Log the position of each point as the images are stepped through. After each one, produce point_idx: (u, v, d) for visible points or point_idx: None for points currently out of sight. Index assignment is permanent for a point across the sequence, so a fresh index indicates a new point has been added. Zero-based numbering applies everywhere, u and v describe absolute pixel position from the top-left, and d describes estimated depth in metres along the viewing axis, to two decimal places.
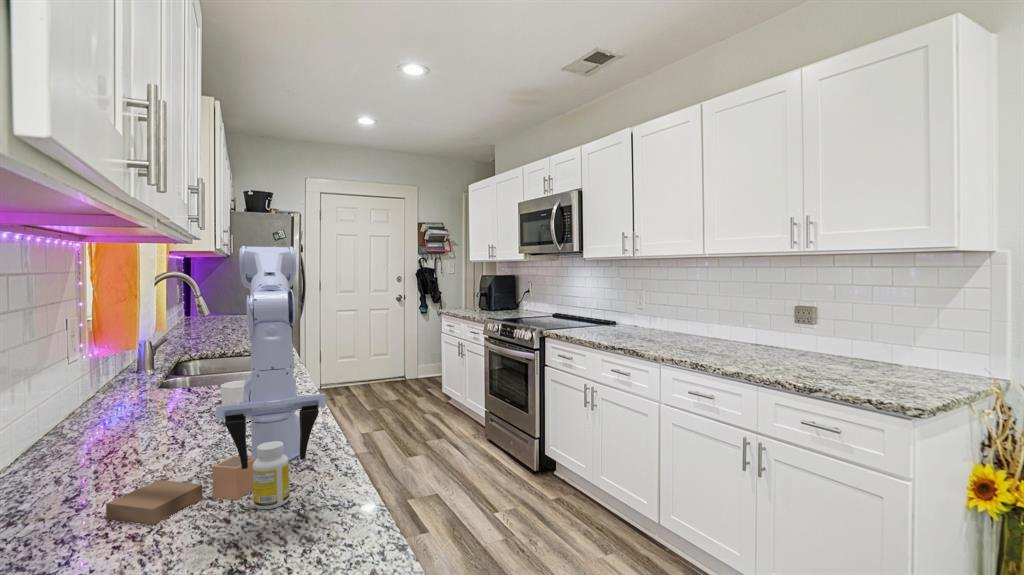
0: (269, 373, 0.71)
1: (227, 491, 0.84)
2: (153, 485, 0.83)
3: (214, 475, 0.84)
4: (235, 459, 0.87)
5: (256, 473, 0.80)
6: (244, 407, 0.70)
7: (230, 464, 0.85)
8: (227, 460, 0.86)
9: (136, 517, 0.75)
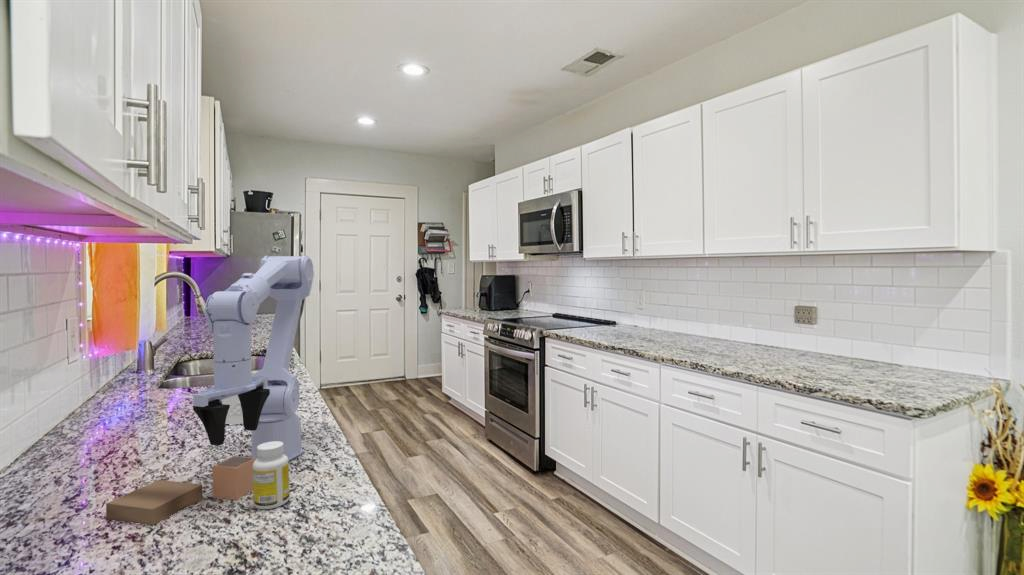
0: (244, 363, 0.84)
1: (227, 491, 0.84)
2: (153, 485, 0.83)
3: (214, 475, 0.84)
4: (235, 459, 0.87)
5: (256, 473, 0.80)
6: (225, 393, 0.81)
7: (230, 464, 0.85)
8: (227, 460, 0.86)
9: (136, 517, 0.75)
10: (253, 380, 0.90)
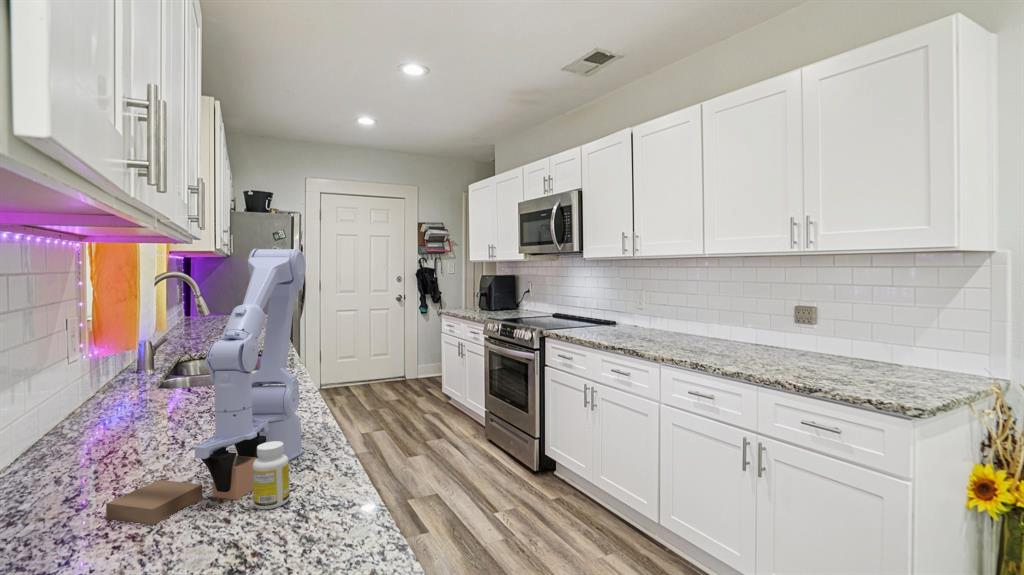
0: (245, 411, 0.85)
1: None
2: (153, 485, 0.83)
3: None
4: (235, 459, 0.87)
5: (256, 473, 0.80)
6: (226, 443, 0.82)
7: None
8: None
9: (136, 517, 0.75)
10: (254, 426, 0.90)
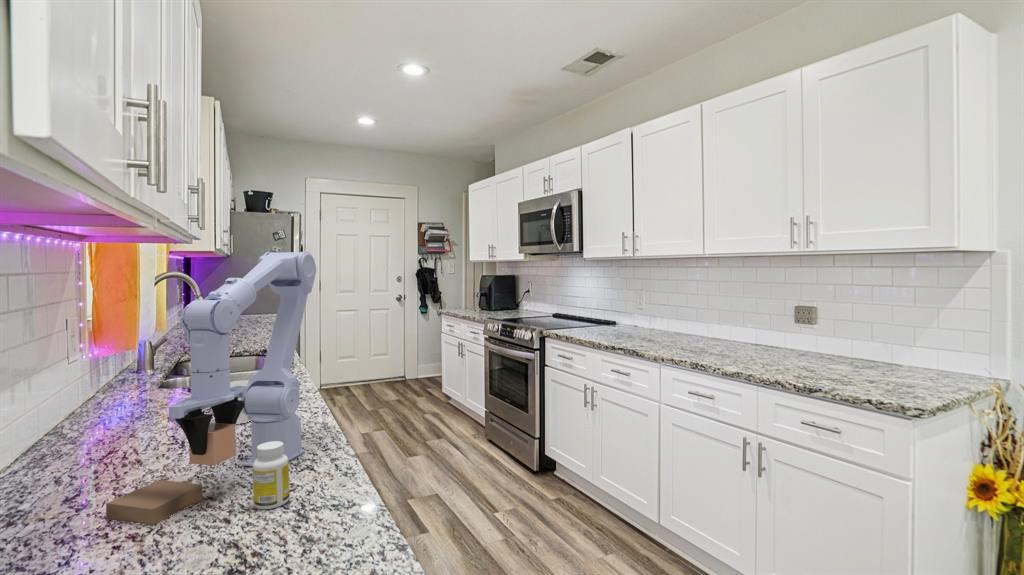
0: (222, 373, 0.83)
1: (204, 456, 0.81)
2: (153, 485, 0.83)
3: None
4: (213, 425, 0.85)
5: (256, 473, 0.80)
6: (202, 404, 0.80)
7: None
8: None
9: (136, 517, 0.75)
10: (232, 390, 0.88)
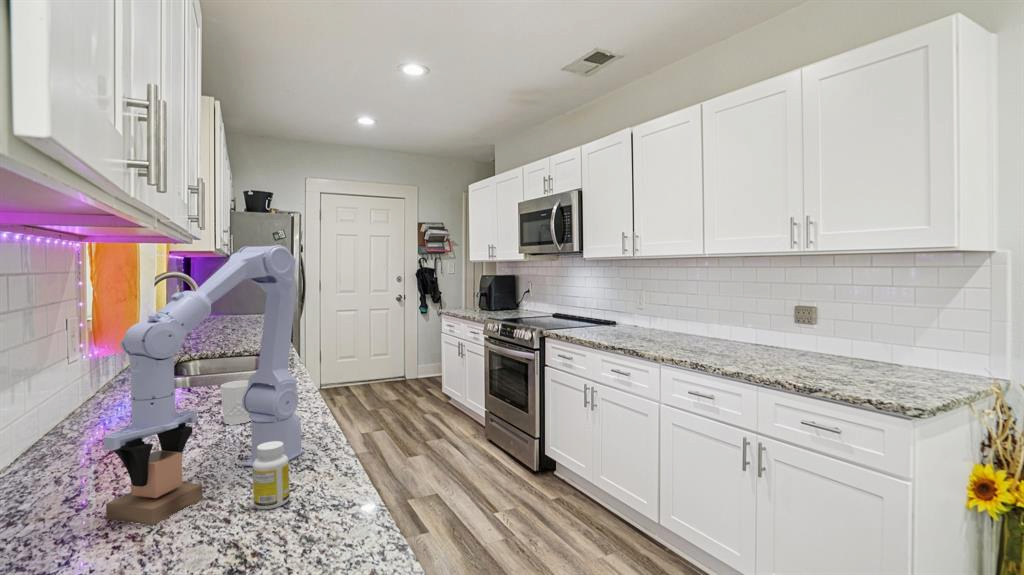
0: (165, 400, 0.78)
1: (145, 488, 0.77)
2: None
3: None
4: (157, 454, 0.81)
5: (256, 473, 0.80)
6: (141, 434, 0.76)
7: (150, 459, 0.78)
8: None
9: (136, 517, 0.75)
10: (179, 416, 0.84)
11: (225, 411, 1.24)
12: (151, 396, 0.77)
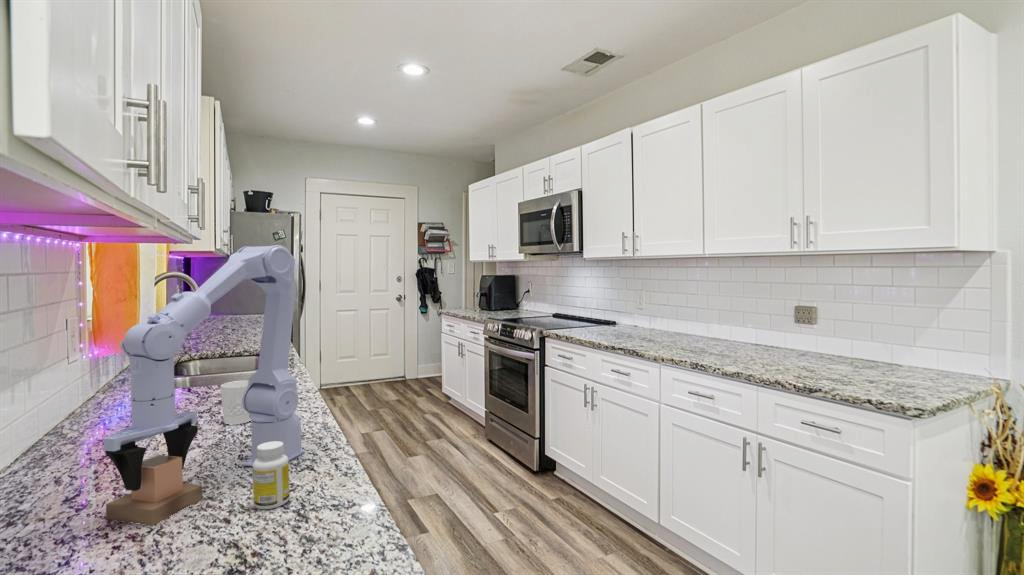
0: (165, 401, 0.78)
1: (145, 493, 0.77)
2: None
3: None
4: (158, 458, 0.81)
5: (256, 473, 0.80)
6: (141, 435, 0.76)
7: (150, 464, 0.78)
8: (149, 459, 0.80)
9: (136, 518, 0.75)
10: (179, 417, 0.84)
11: (225, 411, 1.24)
12: (151, 397, 0.77)
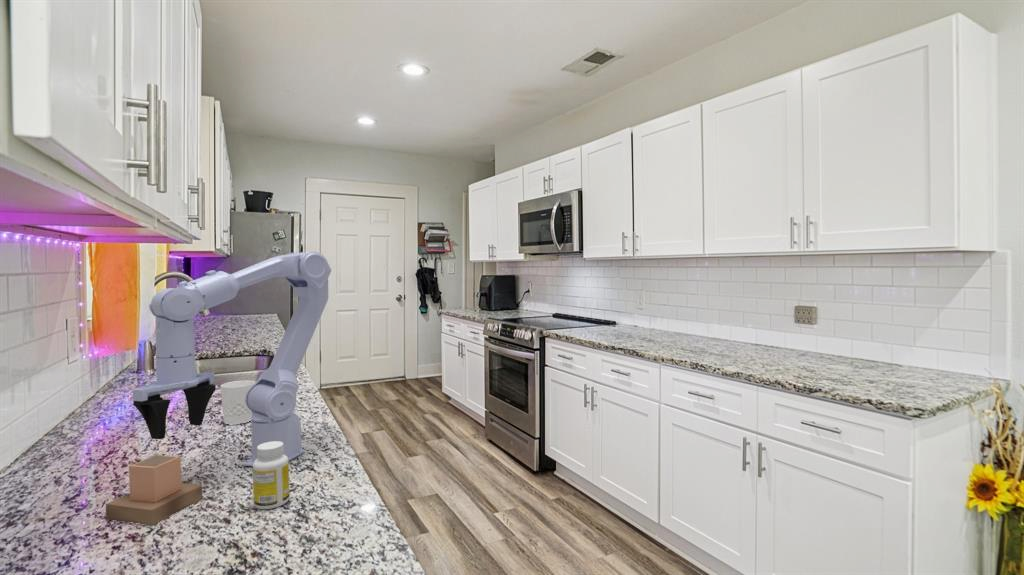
0: (186, 359, 0.86)
1: (145, 493, 0.77)
2: None
3: (131, 476, 0.78)
4: (156, 458, 0.81)
5: (256, 473, 0.80)
6: (166, 388, 0.83)
7: (148, 464, 0.78)
8: (147, 459, 0.80)
9: (136, 518, 0.75)
10: (198, 376, 0.91)
11: (225, 411, 1.24)
12: (169, 355, 0.84)
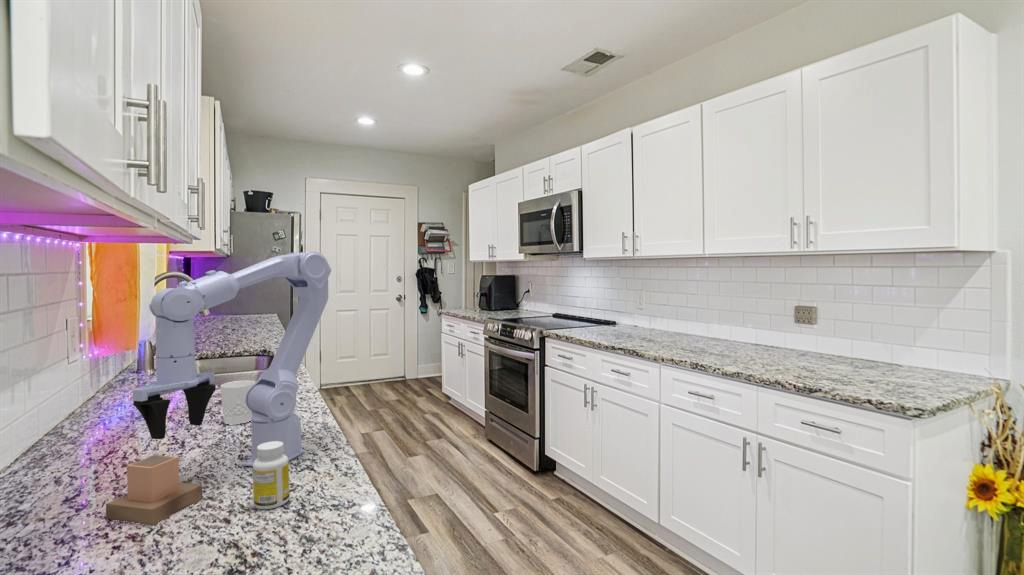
0: (186, 359, 0.86)
1: (142, 493, 0.77)
2: None
3: (128, 476, 0.78)
4: (154, 458, 0.81)
5: (256, 473, 0.80)
6: (166, 388, 0.83)
7: (146, 464, 0.78)
8: (145, 459, 0.80)
9: (136, 517, 0.75)
10: (198, 376, 0.91)
11: (225, 411, 1.24)
12: (169, 355, 0.84)
